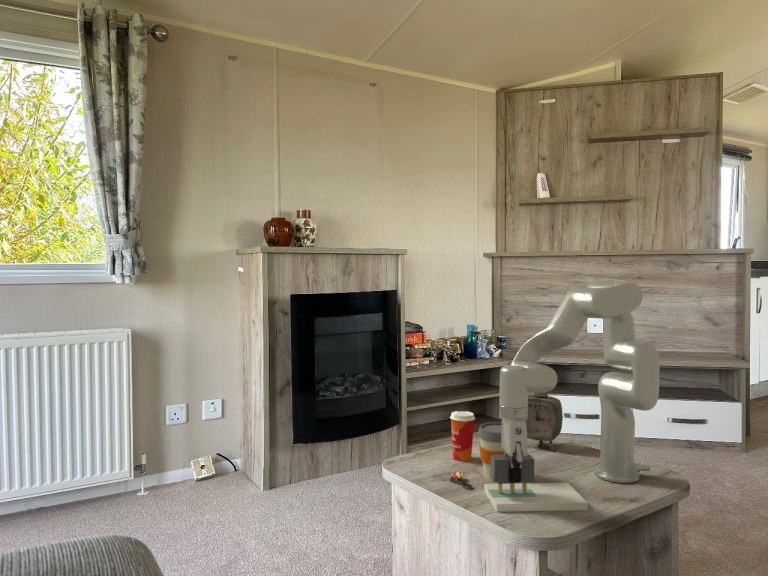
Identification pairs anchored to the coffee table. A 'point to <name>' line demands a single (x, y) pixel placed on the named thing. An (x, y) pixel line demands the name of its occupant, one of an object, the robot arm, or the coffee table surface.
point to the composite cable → (460, 480)
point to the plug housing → (502, 465)
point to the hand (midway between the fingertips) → (512, 478)
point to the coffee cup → (462, 435)
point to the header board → (534, 497)
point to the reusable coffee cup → (489, 445)
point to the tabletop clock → (544, 418)
